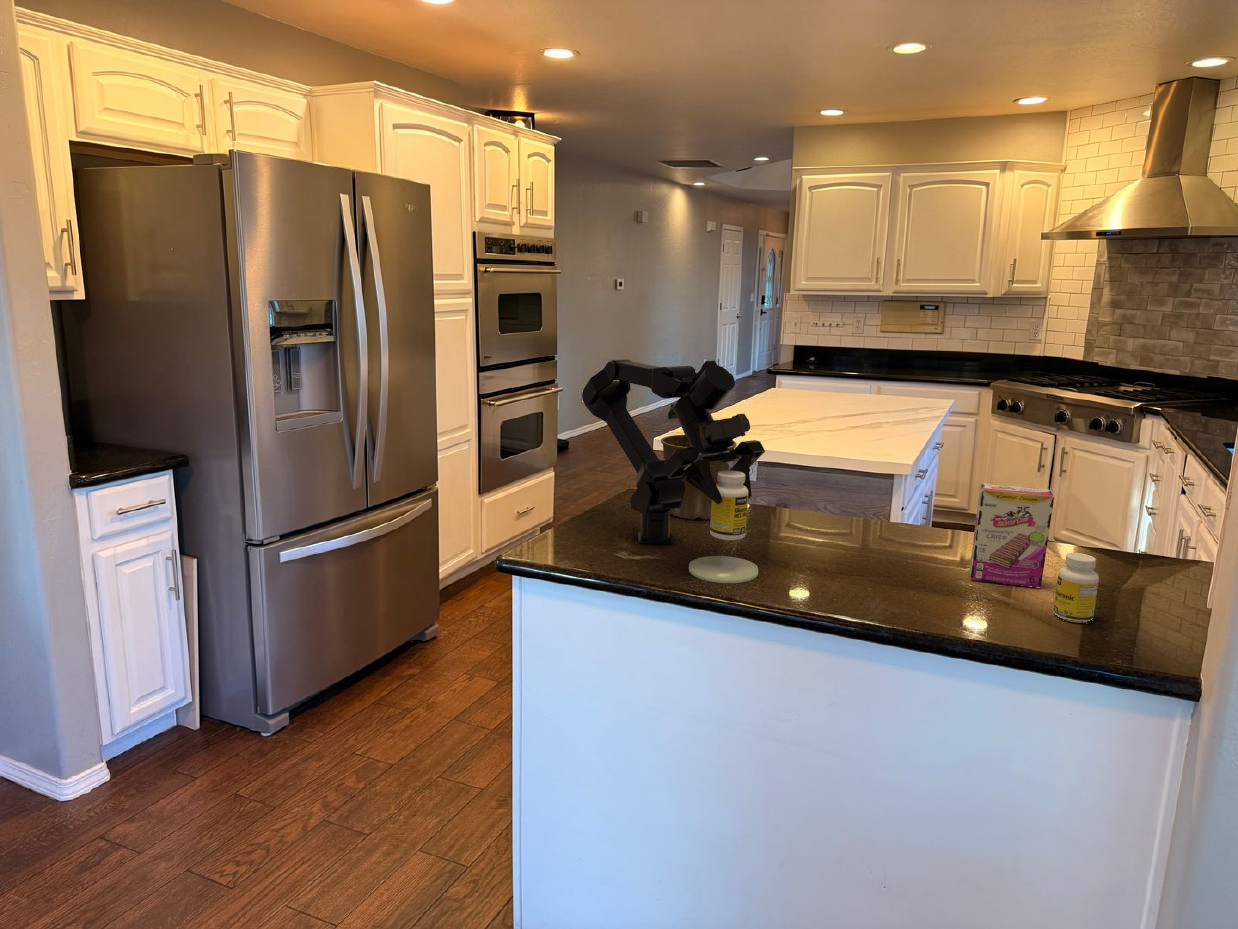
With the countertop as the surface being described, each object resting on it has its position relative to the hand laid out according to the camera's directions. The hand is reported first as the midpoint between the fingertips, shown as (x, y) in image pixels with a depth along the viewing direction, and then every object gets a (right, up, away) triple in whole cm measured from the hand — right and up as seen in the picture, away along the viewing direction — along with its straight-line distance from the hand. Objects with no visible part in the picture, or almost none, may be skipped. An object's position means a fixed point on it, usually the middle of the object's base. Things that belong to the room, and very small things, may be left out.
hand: (735, 500), depth 141 cm
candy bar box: (+46, -14, +2) cm, 49 cm away
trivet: (-2, -13, +4) cm, 13 cm away
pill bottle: (-1, -6, +3) cm, 7 cm away
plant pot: (-3, -5, +41) cm, 41 cm away
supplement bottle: (+50, -18, -14) cm, 54 cm away
